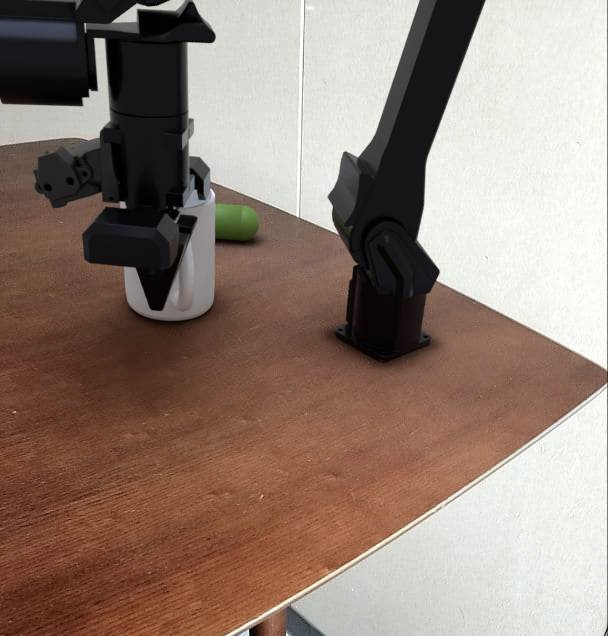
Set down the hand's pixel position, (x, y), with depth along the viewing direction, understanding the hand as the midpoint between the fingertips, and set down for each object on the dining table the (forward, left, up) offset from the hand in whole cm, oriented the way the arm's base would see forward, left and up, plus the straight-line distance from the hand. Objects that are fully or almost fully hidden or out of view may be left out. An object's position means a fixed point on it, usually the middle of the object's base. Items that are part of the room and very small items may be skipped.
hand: (156, 309), depth 73 cm
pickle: (+18, -20, -4) cm, 27 cm away
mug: (+5, -5, -4) cm, 8 cm away
